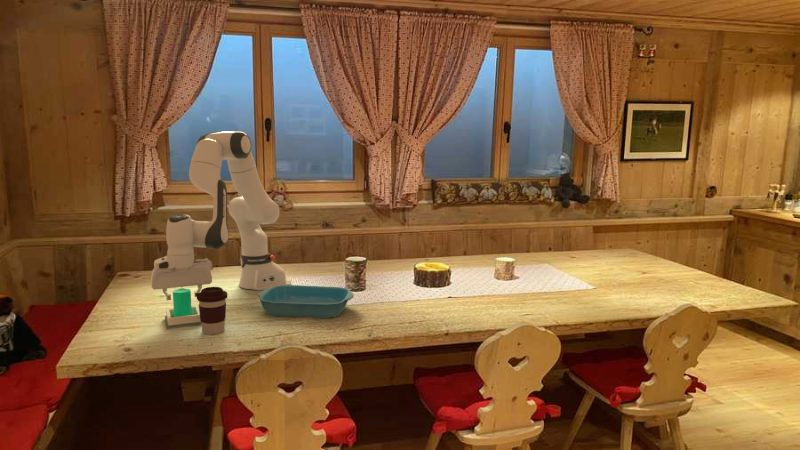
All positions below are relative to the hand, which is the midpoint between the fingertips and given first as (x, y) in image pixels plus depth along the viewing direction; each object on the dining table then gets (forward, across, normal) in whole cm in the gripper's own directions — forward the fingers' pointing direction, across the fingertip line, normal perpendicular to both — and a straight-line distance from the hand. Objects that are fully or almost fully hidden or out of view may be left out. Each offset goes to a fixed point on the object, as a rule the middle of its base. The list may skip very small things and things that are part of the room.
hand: (182, 298), depth 202 cm
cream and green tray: (+9, -1, 0) cm, 9 cm away
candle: (+8, 0, 0) cm, 8 cm away
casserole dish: (+9, -44, +4) cm, 45 cm away
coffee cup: (+9, -8, +14) cm, 19 cm away
